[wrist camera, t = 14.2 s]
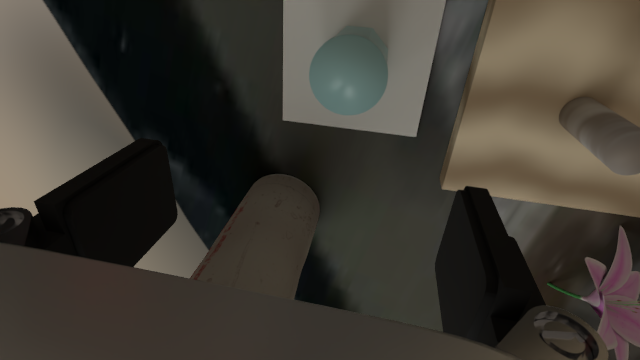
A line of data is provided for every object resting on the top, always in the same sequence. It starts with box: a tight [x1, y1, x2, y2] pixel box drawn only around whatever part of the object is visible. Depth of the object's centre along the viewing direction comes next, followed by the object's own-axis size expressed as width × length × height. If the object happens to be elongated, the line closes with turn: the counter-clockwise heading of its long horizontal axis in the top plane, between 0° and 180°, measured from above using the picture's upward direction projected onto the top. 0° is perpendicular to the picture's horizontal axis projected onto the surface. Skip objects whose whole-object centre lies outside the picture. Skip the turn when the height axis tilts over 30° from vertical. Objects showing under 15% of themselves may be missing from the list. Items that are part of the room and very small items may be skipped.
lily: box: [547, 225, 640, 360], centre depth 32 cm, size 12×12×10 cm
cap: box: [309, 26, 388, 115], centre depth 25 cm, size 5×5×6 cm
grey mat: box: [283, 0, 446, 137], centre depth 28 cm, size 12×12×1 cm
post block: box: [440, 0, 640, 217], centre depth 24 cm, size 16×16×9 cm
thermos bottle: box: [190, 174, 320, 299], centre depth 26 cm, size 8×8×28 cm
